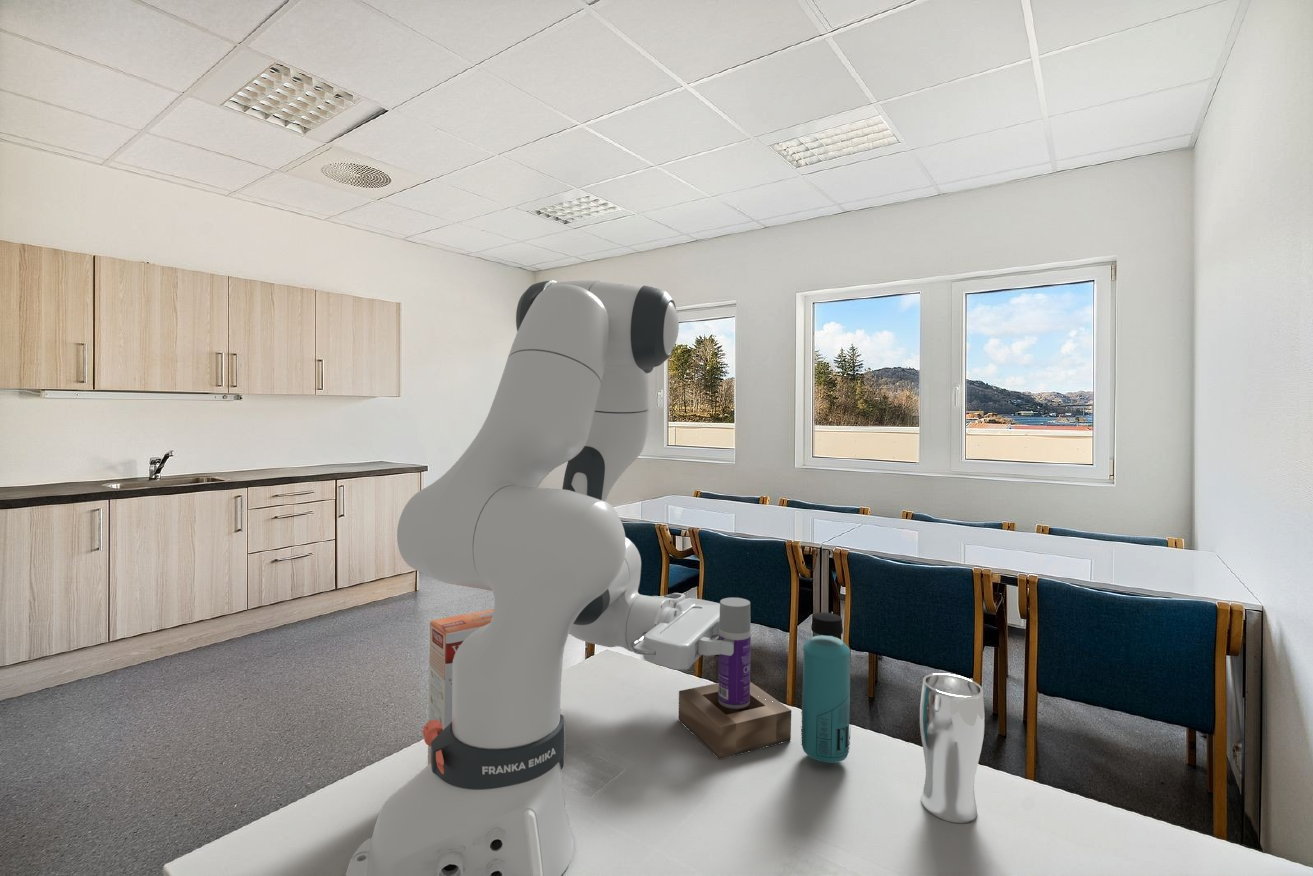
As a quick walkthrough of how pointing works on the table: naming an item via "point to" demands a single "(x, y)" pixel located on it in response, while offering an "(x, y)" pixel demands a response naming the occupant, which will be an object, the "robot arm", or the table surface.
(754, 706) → the socket block
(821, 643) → the beverage bottle
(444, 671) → the cracker box
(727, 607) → the container
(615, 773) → the table surface
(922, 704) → the beer glass
